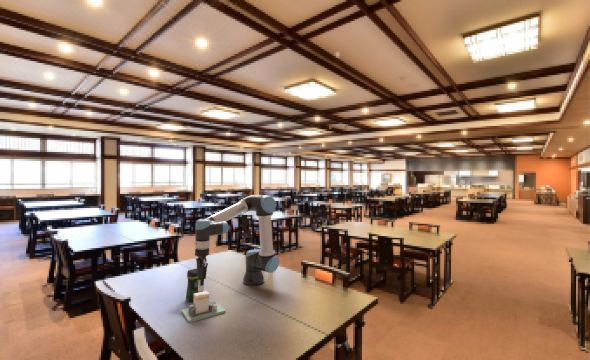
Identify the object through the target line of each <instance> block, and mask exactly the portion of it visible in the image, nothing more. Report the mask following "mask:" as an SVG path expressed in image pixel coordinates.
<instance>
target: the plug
mask: <svg viewBox="0 0 590 360" xmlns="http://www.w3.org/2000/svg"><path fill="white" fill-rule="evenodd" d="M193 298H194V301H192V302H193V304H192V305H193V308H194V310H195V314H199V313H202V312H206V311H209V302H210V293H209V292H208V291H207V290H204V291H203V292H199V293H194V297H193Z"/></svg>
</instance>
